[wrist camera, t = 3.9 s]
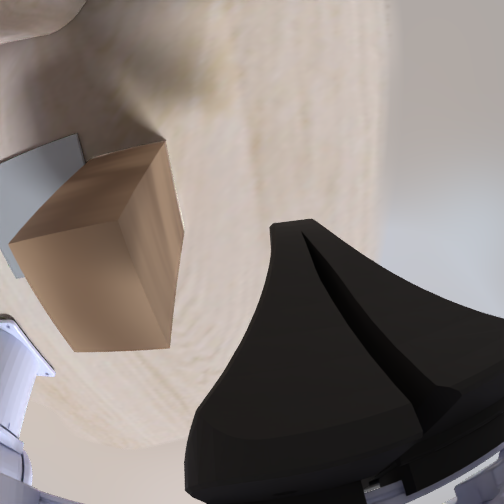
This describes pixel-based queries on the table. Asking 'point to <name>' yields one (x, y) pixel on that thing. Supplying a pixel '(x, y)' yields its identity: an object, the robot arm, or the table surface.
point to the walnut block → (108, 252)
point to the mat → (33, 186)
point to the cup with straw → (35, 17)
